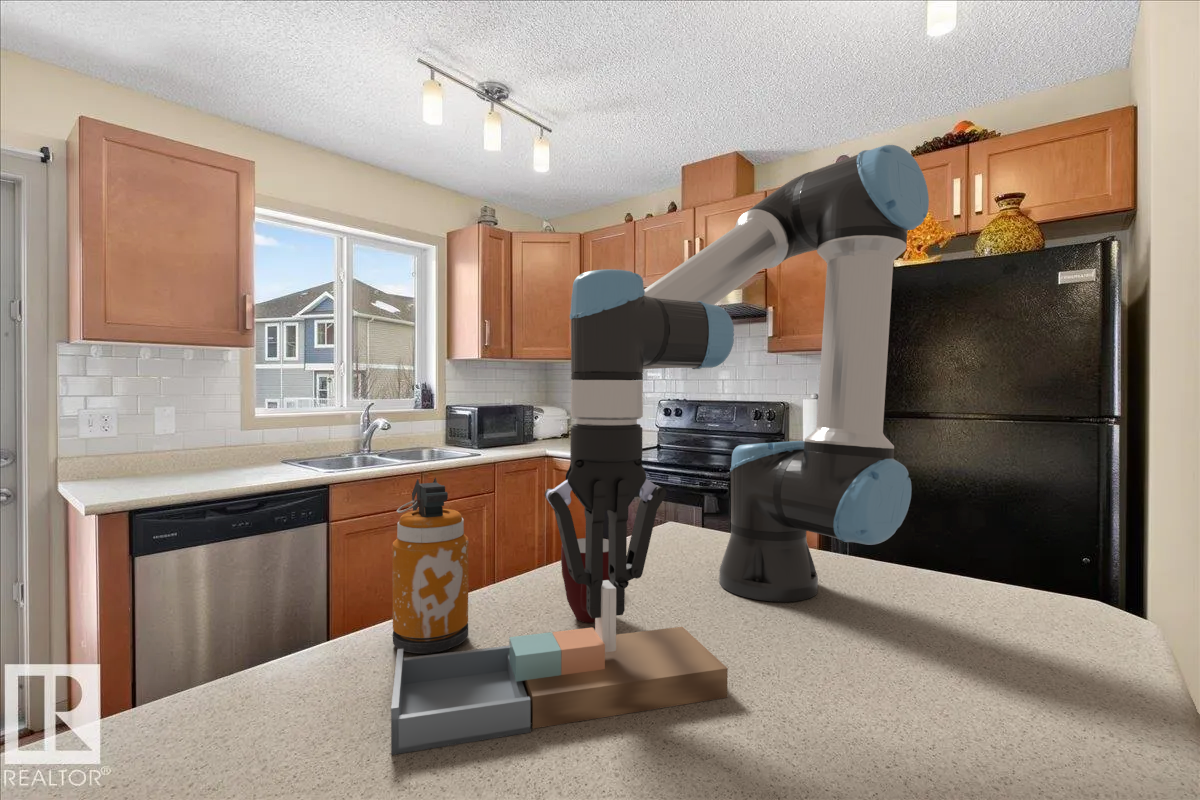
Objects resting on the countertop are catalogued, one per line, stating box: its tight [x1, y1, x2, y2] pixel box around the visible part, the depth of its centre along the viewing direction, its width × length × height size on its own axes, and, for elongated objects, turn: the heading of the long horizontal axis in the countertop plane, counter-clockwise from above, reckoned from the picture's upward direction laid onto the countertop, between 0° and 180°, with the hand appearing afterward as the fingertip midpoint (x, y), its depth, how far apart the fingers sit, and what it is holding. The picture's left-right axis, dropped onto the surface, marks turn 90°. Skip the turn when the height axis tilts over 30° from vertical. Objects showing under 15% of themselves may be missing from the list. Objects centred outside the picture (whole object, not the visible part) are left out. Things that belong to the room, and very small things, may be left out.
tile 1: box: [508, 631, 561, 682], centre depth 60 cm, size 4×4×2 cm
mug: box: [560, 537, 610, 624], centre depth 80 cm, size 11×8×10 cm
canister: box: [392, 477, 469, 655], centre depth 74 cm, size 9×11×20 cm
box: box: [390, 645, 531, 756], centre depth 58 cm, size 12×12×4 cm
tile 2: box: [551, 626, 605, 675], centre depth 61 cm, size 4×4×2 cm
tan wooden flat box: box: [522, 626, 729, 730], centre depth 63 cm, size 20×11×3 cm, turn 106°
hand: (605, 646), depth 62 cm, fingers closed
